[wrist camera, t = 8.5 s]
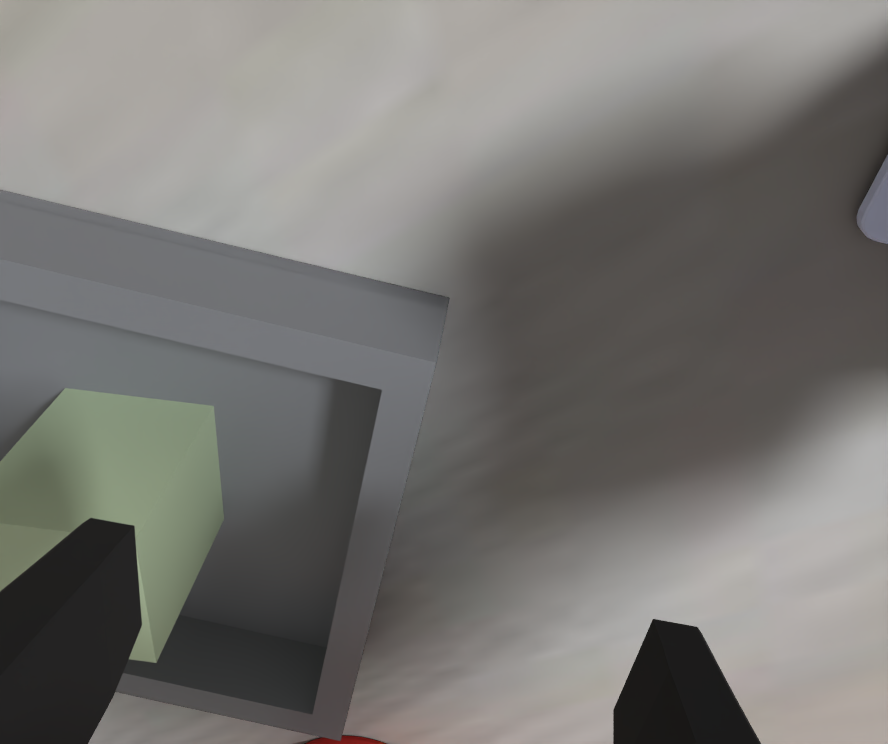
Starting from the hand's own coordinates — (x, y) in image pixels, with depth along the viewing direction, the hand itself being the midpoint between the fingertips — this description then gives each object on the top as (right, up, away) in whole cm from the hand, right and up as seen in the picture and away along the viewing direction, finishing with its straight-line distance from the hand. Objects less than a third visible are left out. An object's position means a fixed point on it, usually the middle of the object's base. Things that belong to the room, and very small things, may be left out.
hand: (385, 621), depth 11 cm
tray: (-7, +1, +12) cm, 14 cm away
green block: (-7, +1, +11) cm, 13 cm away
